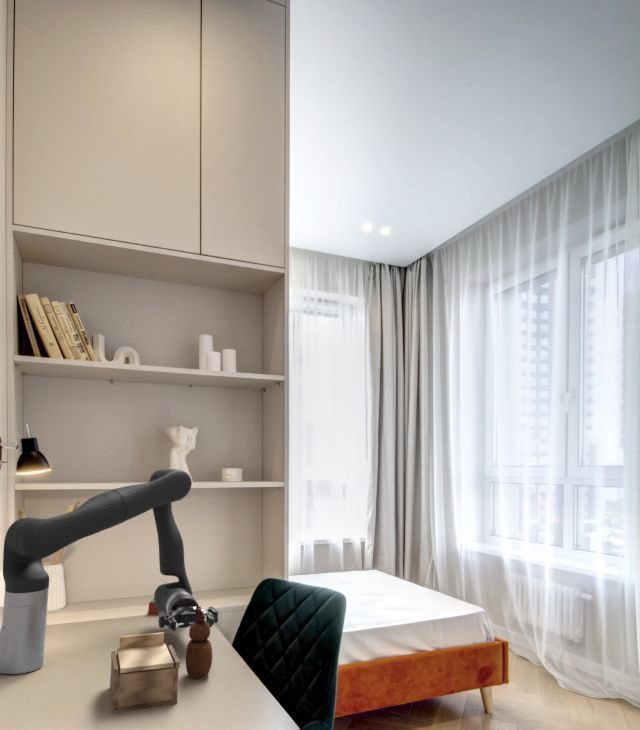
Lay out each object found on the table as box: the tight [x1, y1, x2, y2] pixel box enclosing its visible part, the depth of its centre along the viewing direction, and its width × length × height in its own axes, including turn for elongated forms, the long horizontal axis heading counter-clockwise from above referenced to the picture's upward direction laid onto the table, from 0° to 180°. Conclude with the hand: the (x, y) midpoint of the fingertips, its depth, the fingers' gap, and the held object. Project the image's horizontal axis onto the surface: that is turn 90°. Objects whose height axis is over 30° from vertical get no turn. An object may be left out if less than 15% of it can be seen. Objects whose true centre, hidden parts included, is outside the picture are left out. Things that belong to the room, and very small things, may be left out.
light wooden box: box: [109, 644, 181, 713], centre depth 121 cm, size 12×13×8 cm
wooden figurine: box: [185, 602, 213, 679], centre depth 132 cm, size 7×6×15 cm
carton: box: [147, 598, 167, 616], centre depth 190 cm, size 8×16×4 cm, turn 179°
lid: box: [116, 631, 174, 673], centre depth 122 cm, size 10×13×3 cm
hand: (192, 624), depth 141 cm, fingers open, 8 cm apart
